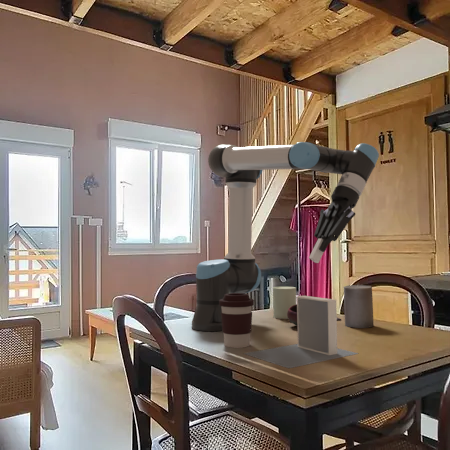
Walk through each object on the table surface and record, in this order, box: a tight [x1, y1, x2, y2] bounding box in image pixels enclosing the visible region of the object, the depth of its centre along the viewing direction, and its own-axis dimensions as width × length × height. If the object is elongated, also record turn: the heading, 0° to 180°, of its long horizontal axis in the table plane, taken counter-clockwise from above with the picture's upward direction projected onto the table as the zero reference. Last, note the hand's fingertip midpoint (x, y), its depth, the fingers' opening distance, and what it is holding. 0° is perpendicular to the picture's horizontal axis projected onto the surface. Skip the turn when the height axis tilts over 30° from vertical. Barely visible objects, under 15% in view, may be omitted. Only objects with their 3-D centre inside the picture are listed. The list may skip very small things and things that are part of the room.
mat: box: [243, 343, 359, 369], centre depth 125 cm, size 18×24×1 cm
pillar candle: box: [343, 282, 374, 329], centre depth 167 cm, size 10×10×15 cm
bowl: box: [287, 303, 297, 326], centre depth 168 cm, size 16×13×8 cm
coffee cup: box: [219, 293, 255, 349], centre depth 136 cm, size 10×10×15 cm
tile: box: [296, 295, 338, 355], centre depth 128 cm, size 12×3×14 cm, turn 34°
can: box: [272, 286, 297, 320], centre depth 187 cm, size 9×9×12 cm
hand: (313, 260), depth 134 cm, fingers closed
